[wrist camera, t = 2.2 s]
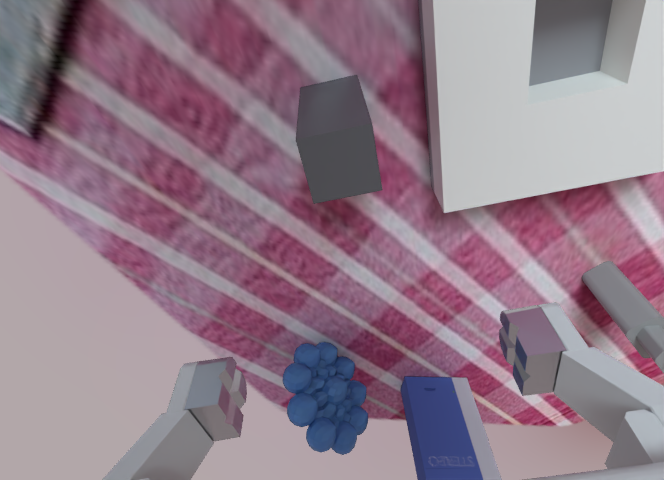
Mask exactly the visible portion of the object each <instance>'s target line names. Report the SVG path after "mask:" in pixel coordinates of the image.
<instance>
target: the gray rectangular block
mask: <svg viewBox="0 0 664 480" xmlns="http://www.w3.org/2000/svg"><path fill="white" fill-rule="evenodd" d="M296 142H297V146H298V149H299V153H300V157H301V160H302V164H303V167H304V171H305V174H306V178H307V181H308V185H309V189H310V192H311V196H312V199H313V203H314V204H315V203H320V202H325V201H330V200H335V199H340V198H345V197H350V196H355V195H360V194H365V193H370V192H375V191H380V190H382V185H381V178H380V172H379V166H378V159H377V153H376V146H375V140H374V133H373V127H372V122H371V119H370V115H369V112H368V109H367V106H366V102H365V99H364V96H363V93H362V89H361V86H360V83H359V80H358V76H357V75H354V76H349V77H345V78H341V79H336V80H332V81H327V82H323V83H319V84H314V85H310V86H306V87H301V88H300V99H299V110H298V121H297V132H296Z"/></svg>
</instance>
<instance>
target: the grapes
mask: <svg viewBox="0 0 664 480" xmlns="http://www.w3.org/2000/svg"><path fill="white" fill-rule="evenodd" d="M354 371H355V364H354V362H353V361H352V360H351V359H349V358H347V357H343V356H341V357H337V348H336V347H335V346H334V345H332V344H330V343H327V342H322V343H319V344H318V345H317V346H314V345H312V344H308V343H307V344H301V345H300V346H299V347H298V348H297V349H296V351H295V354H294V363H293V364H290V365H289V366H288V367H287V368H286V369H285V372H284V374H283V384H284V386H285V388H286V389H287V390H288V391H289V392H292V393H295V394H296V395H295V396H294V397H293V398H291V399H290V402H289V404H288V407H287V414H288V417H289V419H290V421H291V422H292V423H293V424H294V425H296V426H300V427H304V426H307V425H309V427H308V429H307V434H306V439H307V442H308V444H309V446H310V447H311V448H312V449H313V450H315V451H318V452H324V451H327V450H329V449H330V448H332V449H333V450H334V451H335V452H336V453H339V454H342V455H344V454H347V453H349V452H350V451H351V450H352V449H353V448H354V446H355V443H356V440H357V435H360V434H362V433H363V432H364V430H365V429H366V426H367V423H368V413H367V412H366V411H365V410H364V409H363V408H361V407H360V406H361V405H362V404H363V403H364V401H365V398H366V386H365V385H363V384H362V383H361V382H359V381H355V380H352V381H350V379H351V378H352V377H353V374H354Z"/></svg>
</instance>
